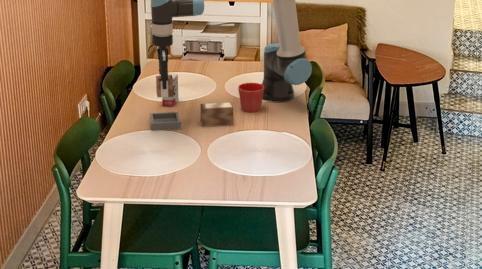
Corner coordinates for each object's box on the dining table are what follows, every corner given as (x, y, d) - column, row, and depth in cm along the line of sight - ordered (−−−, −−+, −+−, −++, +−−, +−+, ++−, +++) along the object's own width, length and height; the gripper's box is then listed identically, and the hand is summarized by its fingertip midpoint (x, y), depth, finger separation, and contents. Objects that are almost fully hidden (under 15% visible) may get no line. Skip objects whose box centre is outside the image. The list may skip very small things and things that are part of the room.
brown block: (172, 92, 264) (171, 74, 262) (173, 96, 260) (172, 78, 257) (156, 93, 263) (155, 75, 261) (157, 97, 259) (156, 79, 256)
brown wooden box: (230, 118, 272) (230, 101, 270) (233, 124, 267) (233, 107, 264) (200, 120, 270) (200, 103, 268) (202, 126, 265) (202, 108, 262)
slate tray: (178, 118, 272) (177, 111, 271) (180, 128, 262) (180, 122, 261) (150, 119, 270) (149, 113, 269) (151, 130, 260) (151, 123, 259)
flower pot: (234, 111, 280) (234, 89, 276) (243, 103, 290) (243, 81, 286) (258, 115, 277) (259, 92, 273) (267, 106, 286) (267, 84, 282)
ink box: (173, 106, 284) (172, 79, 280) (161, 105, 285) (160, 78, 281) (179, 99, 292) (178, 73, 288) (167, 99, 293) (167, 72, 288)
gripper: (150, 28, 260) (152, 87, 269) (153, 40, 244) (155, 102, 253) (170, 28, 261) (171, 86, 270) (174, 40, 245) (176, 101, 254)
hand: (164, 94), depth 261 cm, fingers closed on brown block, 5 cm apart
